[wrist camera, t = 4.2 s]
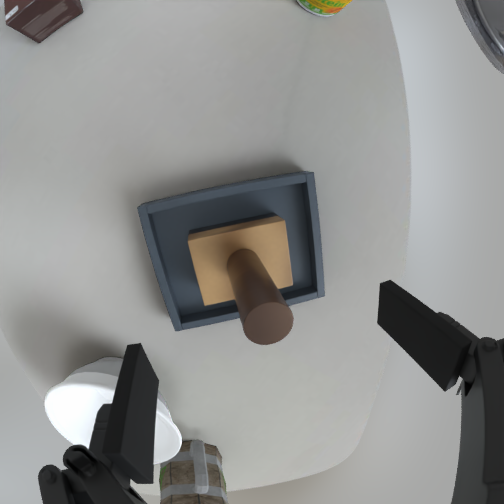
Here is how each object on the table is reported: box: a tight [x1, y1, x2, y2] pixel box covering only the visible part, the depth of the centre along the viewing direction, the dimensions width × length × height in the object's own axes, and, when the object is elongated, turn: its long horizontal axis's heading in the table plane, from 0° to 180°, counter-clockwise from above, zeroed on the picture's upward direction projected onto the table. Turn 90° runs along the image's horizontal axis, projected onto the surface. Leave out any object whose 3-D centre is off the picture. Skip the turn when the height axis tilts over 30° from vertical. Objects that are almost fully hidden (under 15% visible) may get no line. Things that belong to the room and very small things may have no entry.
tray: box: [137, 171, 325, 331], centre depth 26 cm, size 16×13×2 cm
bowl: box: [44, 357, 182, 464], centre depth 26 cm, size 16×16×8 cm
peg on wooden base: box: [188, 213, 294, 345], centre depth 21 cm, size 8×6×12 cm
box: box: [4, 0, 83, 43], centre depth 11 cm, size 6×6×7 cm
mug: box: [159, 440, 228, 504], centre depth 31 cm, size 16×11×12 cm
